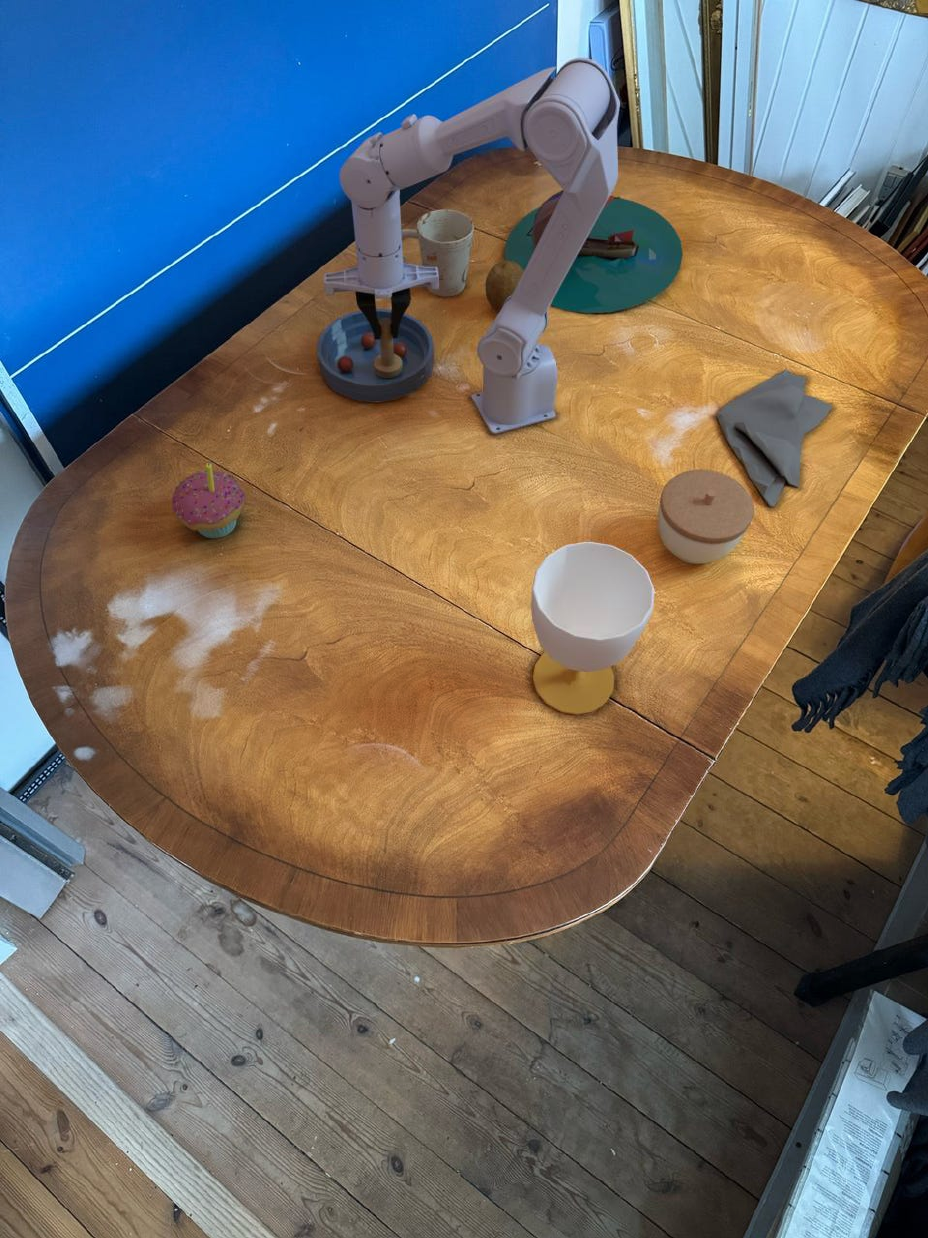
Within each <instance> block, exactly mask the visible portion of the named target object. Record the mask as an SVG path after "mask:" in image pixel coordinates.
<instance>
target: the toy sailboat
mask: <svg viewBox="0 0 928 1238" xmlns="http://www.w3.org/2000/svg"><path fill="white" fill-rule="evenodd" d="M562 194H563V189H562V190H560V191H558V192H556V193H554V194H553V195H551V196H550V197H549V198H548V199H546V200H545V201H544V202H543V203H541V205H540V206H538V207H537V208H535V209H533V210H531V211H530V212H528V213H527V214H525V215H524V216H523V217H522V218H521V219H520V220H519V221H518V222H517V223H516V224H515V226H514V227H513V228H512V229H511V230H510V232H509V233H508V237H507V240H506V242H505V246H504V261H513V262H515V263H517V264H519V266H520V267H521V268H522V269H523V271H525V269H526V267H527V265H528V263H529V260H530V258H531V256H532V254H533V252H534V250H535V248H536V246H537V244H538V242H539V240H540V238H541V236H542V234H543V232H544V230H545V228H546V226H547V224H548V222H549V220H550V218H551V216H552V214H553V212H554V210H555V208H556V206H557V204H558V202H559V200H560V198H561V196H562ZM682 260H683V247H682V239H681V238H680V237H679V235H678V233H677V231H676V229H675V227H674V226H673V225H672V224H671V223H670V222H669V221H668V220H667V219H666V218H665V217H664V216H663V215H662V214H660V213H659V212H657V211H656V210H654V209H652V208H650V207H649V206H646V205H644V204H641V203H640V202H639V203H638V202H636V201H632V200H629V199H626V198H622V197H620V196H613V195H612V194H611V195H610V197H609V199H608V200H607V202H606V204H605V206H604V208H603V209H602V211H601V213H600V215H599V217H598V219H597V220H596V222H595V224H594V226H593V228H592V229H591V231H590V233H589V235H588V237H587V238H586V240H585V242H584V244H583V246H582V248H581V249H580V251H579V253H578V255H577V257H576V258H575V260H574V262H573V264H572V266H571V267H570V269H569V271H568V273H567V275H566V277H565V278H564V280H563V282H562V284H561V286H560V287H559V289H558V291H557V293H556V295H555V296H554V298H553V301H552V303H551V305H550V307H554V308H557V309H560V310H563V311H568V312H576V313H584V314H596V313H600V314H601V313H603V314H604V313H612V312H617V311H622V310H627V309H630V308H633V307H636V306H639V305H641V304H643V303H645V302H647V301H649V300H652V299H653V298H655V297H657V296H658V295H660V294H661V293H663V292H664V291H665V290H667V288H669V287H670V285H671V284H673V282H674V280H675V278H676V277H677V275H678V273H679V272H680V270H681V266H682Z"/></svg>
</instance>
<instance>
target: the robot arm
mask: <svg viewBox="0 0 928 1238" xmlns="http://www.w3.org/2000/svg"><path fill="white" fill-rule="evenodd" d="M556 69H557V66H552V67H547V68H544V69H542V70H541V71H538V72H536V73H535V74H533V75H530V76H528V77H527V78H525V79H522V80H521V81H519V82H517V83H515V84H513V85H511V86H508V87H507V88H505V89H504V90H502V91H500V92H498V93H496V94H494V95H492V96H490V97H488V98H486V99H484V100H482V101H480V102H479V103H477V104H475V105H473V106H471V107H469V108H467V109H466V110H464V111H461V112H460V113H458V114H456V115H454V116H452V117H450V118H448V119H446V120H445V121H442V120H440V119H438V118H437V117H435V116H432V115H425V116H423V117H419V118H418V117H417V115H416V114H414V113H413V114H411V115H409V116H406V118H405V119H404V120H402V122H401V123H400V126H401V127H399V128H397V129H395V130H393V131H390V132H388V133H386V134H384V135H383V134H382V132H377V133H375V134H373V136H369V137H368V138H366V139H365V140H364V141H363V142H362V143H360V145H359V146H358V148H356V149H355V151H354V152H353V153H352V154H351V155H349V157H348V158H347V159H346V160H345V162H344V163H343V165H342V166H341V168H340V171H339V182H340V186H341V188H342V189H341V190H342V191H343V192H344V194H345V196H346V197H347V198H348V199H349V200H350V201H351V210H352V220H353V222H352V223H353V231H354V240H355V251H356V263H357V266H353V267H350V268H346V269H343V270H340V271H335V272H328V273H323V282H324V283H323V284H324V291H325V296H326V297H332V296H334V295H336V294H335V293H347V292H355V302H356V305H357V307H358V309H359V311H360V310H361V311H362V313H363V314H364V315H365V317H366V318H367V320H368V322H369V324H370V326H371V328H372V330H373V333H374V337H375V340H379V339H380V332H379V325H378V317H377V311H376V309H377V302H376V299H377V300H382V299H383V300H384V299H390V306H391V309H390V310H391V321H392V336H393V339H394V338H398V331H399V327H400V323H401V320H402V318H403V315H404V313H405V314H406V312H407V310H408V309H409V307H410V305H411V301H412V295H411V288H425V287H427V286H430V288H431V289H439V275H438V269H437V267H424V266H423V265H422V266H417V265H418V264H415V265H410V264H404V263H403V257H404V253H403V241H402V233H401V230H402V218H401V217H402V215H401V199H400V198H401V197H400V195H401V190H404V189H406V188H408V187H411V186H413V185H415V184H419V183H420V182H423V181H425V180H428V179H430V178H433V177H436V176H438V175H440V174H443V173H446V172H447V171H448V170H449V169H450V167H451V165H452V162H453V158H454V156H455V155H457V154H460V153H464V152H466V151H469V150H472V149H474V148H477V147H480V146H483V145H486V144H489V143H492V142H495V141H498V140H500V139H504V138H508V139H509V140H510V141H511V142H512V143H513V145H514V146H516V148H517V149H518V150H519V151H520V152H523V153H524V152H526V150H527V149H528V148H529V150H530V151H531V153H532V154H533V155H534V157H535V158H536V159H537V160H538V162H539V163H540V164H541V165H542V166H543V167H544V169H545V170H546V171H547V172H548V174H549V175H550V176H551V177H552V179H553V180H554V181H555V182H556V183H557V184H558V186H560V188H561V189H562V190H563V194H562V196H561V198H560V200H559V202H558V204H557V206H556V208H555V210H554V212H553V214H552V216H551V218H550V220H549V222H548V224H547V226H546V228H545V230H544V232H543V234H542V236H541V238H540V240H539V242H538V244H537V246H536V248H535V250H534V252H533V254H532V256H531V258H530V260H529V263H528V265H527V267H526V269H525V271H524V273H523V275H522V277H521V279H520V281H519V283H518V285H517V287H516V289H515V291H514V293H513V295H511V296H509V297H508V298H507V299H506V300H505V302H504V304H503V306H502V309H501V310H500V312H498V313H497V315H496V316H495V318H494V320H493V321H492V323H491V324H490V326H489V328H488V329H487V331H486V332H485V334H484V335H483V336H482V337H481V338H480V339H479V340H478V343H477V347H476V352H477V357H478V359H479V361H480V363H481V364H482V365H483V369H482V391H480V392H475V393H473V394H471V401H472V402H473V404H474V406H475V408H476V409H477V411H478V413H479V414H480V416H481V418H482V420H483V421H484V424H485V425H486V426H487V429H488V430H489V431H490V434H492V435H498V434H501V433H504V432H508V431H513V430H517V429H520V428H523V427H527V426H530V425H534V424H538V423H542V422H545V421H549V420H553V419H555V418H556V415H557V414H556V412H555V410H554V409H555V400H556V394H557V385H558V368H557V362H556V359H555V356H554V354H553V351H552V350H551V348H550V347H549V345H546V344H539V339H540V337H541V336H542V334H543V333H544V332H545V331H546V329H547V327H548V325H549V309H550V307H551V303H552V301H553V298H554V296H555V295H556V293H557V291H558V289H559V287H560V286H561V284H562V282H563V280H564V278H565V277H566V275H567V273H568V271H569V269H570V267H571V266H572V264H573V262H574V260H575V258H576V257H577V255H578V253H579V251H580V249H581V248H582V246H583V244H584V242H585V240H586V238H587V237H588V235H589V233H590V231H591V229H592V228H593V226H594V224H595V222H596V220H597V219H598V217H599V215H600V213H601V211H602V209H603V208H604V206H605V204H606V202H607V200H608V199H609V197H610V195H611V196H612V194H613V191H614V189H615V188H616V185H617V182H618V179H619V159H618V157H619V156H618V154H619V153H618V121H619V114H620V113H619V112H620V107H621V101H620V98H619V96H618V94H617V91H616V89H615V87H614V84H613V82H612V79H611V77H610V75H609V73H608V71H607V70H606V69H605V68H604V67H603V66H602V64H600V63H599V62H597V61H596V60H594V59H591V58H588V57H575V58H572V59H570V60H568V61H566V62H565V63H564V64H563V65H562V66H560V68H559V69H558V71H557V73H556V74H555V76H554V78H552V75H553V73H554V71H555V70H556Z"/></svg>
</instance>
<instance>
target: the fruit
mask: <svg viewBox="0 0 928 1238" xmlns="http://www.w3.org/2000/svg"><path fill="white" fill-rule="evenodd" d="M523 273H524V271H523V269H522V268H521V267H520V266H519V264H517V263H515V262H513V261H505V260H501V261H498V262H496V263H494V265H493V266H492V267H491V269H490V271H489V272H488V274H487V275H486V279H485V297H486V300H487V302H488V303H489V305H490V306H491V308H492V309H493V310H495V311H496V312H498V313H499V312H500V310H501V309H502V306H503V304H504V302H505V300H506V299H507V298H508V297H509V296H511V295H513V293H514V291H515V289H516V287H517V285H518V283H519V281H520V279H521V277H522V275H523Z"/></svg>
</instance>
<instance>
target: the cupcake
mask: <svg viewBox="0 0 928 1238" xmlns="http://www.w3.org/2000/svg"><path fill="white" fill-rule="evenodd" d="M245 497H246V496H245V491H244V489H243V488H242V487H241V486H240V484H239V483H238V481H237V480H236V479H235V478H234V476H231V474H228V473H226V472H225V471H217V470H213V466H212V463H211V460H210V459H208V461H207V463H206V464H205V470H202V471H196V472H193V473H192V474H191V475H189V476H187V477H186V478H183V479H182V480H181V481H180V482H179V483H178V485H177V486H176V487H175V488H174V490H173V493H172V497H171V512H172V515H174V517H175V518H176V519H177V520H178V522H180V523H181V524H182V525H184V527H187V528H188V529H190V530H191V531H198V533H199V534H201V535H202V536H204V537H205V538H209V539H220V538H223V537H226V536H227V535H229V534H230V533H232V532H233V531H234V530H235V528H236V525H237V519H238V518H239V516H240V514H241V512H242V510H243V508H244V505H245Z"/></svg>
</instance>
